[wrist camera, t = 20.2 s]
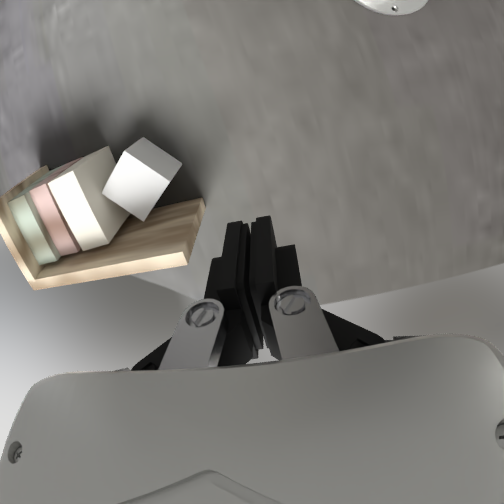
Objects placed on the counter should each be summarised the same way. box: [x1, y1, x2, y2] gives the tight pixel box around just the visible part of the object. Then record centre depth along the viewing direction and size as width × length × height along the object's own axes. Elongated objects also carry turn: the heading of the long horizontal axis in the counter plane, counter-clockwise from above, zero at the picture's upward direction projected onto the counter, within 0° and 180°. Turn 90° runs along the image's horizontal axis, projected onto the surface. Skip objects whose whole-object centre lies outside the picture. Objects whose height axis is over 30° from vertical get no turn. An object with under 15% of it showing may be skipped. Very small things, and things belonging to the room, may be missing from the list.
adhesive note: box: [102, 137, 182, 222], centre depth 34 cm, size 6×6×6 cm
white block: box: [48, 146, 130, 251], centre depth 33 cm, size 9×4×9 cm, turn 15°
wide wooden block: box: [0, 157, 206, 290], centre depth 32 cm, size 12×22×12 cm, turn 102°
